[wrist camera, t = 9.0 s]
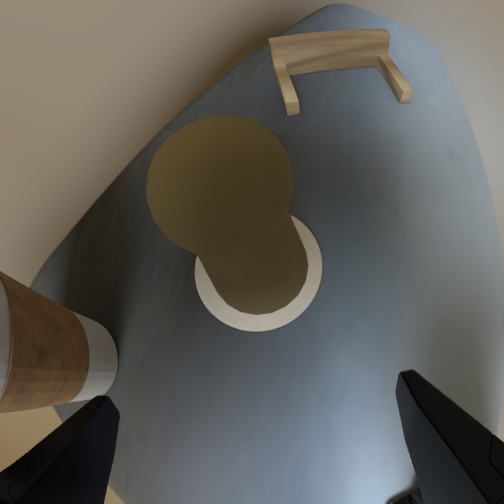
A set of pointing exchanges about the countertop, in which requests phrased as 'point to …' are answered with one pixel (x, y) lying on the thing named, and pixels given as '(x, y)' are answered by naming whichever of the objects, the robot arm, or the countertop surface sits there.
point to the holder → (333, 59)
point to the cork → (231, 209)
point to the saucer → (271, 319)
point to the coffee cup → (49, 351)
